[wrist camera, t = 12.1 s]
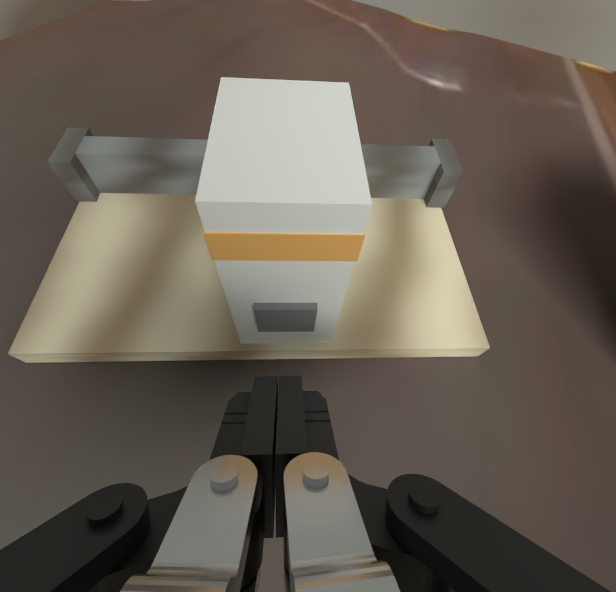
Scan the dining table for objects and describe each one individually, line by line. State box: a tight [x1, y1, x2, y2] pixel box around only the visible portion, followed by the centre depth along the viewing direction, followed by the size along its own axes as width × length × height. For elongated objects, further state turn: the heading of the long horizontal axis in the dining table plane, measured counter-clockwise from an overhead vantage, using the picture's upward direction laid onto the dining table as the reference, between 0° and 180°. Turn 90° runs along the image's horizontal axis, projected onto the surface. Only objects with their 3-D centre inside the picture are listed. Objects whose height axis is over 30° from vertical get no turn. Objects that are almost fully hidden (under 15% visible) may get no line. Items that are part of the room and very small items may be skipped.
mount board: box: [8, 127, 490, 363], centre depth 18 cm, size 23×14×4 cm, turn 92°
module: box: [195, 77, 372, 344], centre depth 13 cm, size 4×6×9 cm
